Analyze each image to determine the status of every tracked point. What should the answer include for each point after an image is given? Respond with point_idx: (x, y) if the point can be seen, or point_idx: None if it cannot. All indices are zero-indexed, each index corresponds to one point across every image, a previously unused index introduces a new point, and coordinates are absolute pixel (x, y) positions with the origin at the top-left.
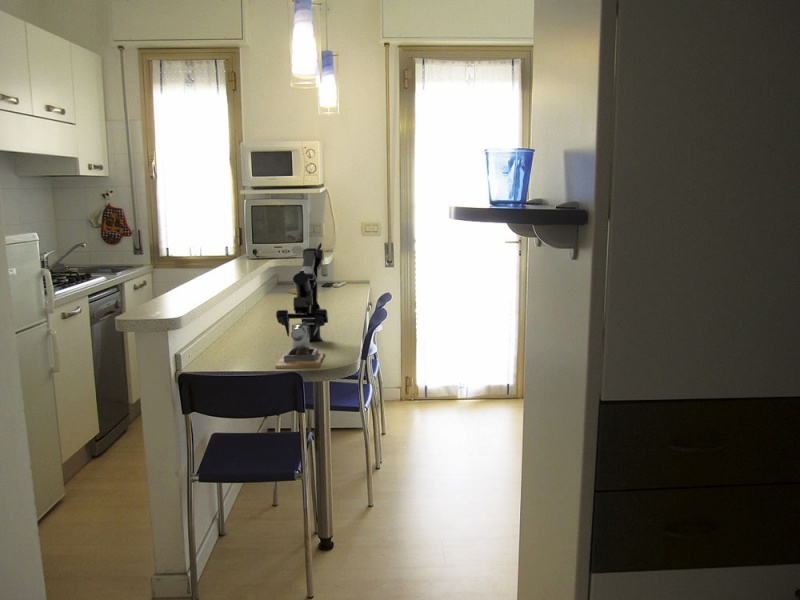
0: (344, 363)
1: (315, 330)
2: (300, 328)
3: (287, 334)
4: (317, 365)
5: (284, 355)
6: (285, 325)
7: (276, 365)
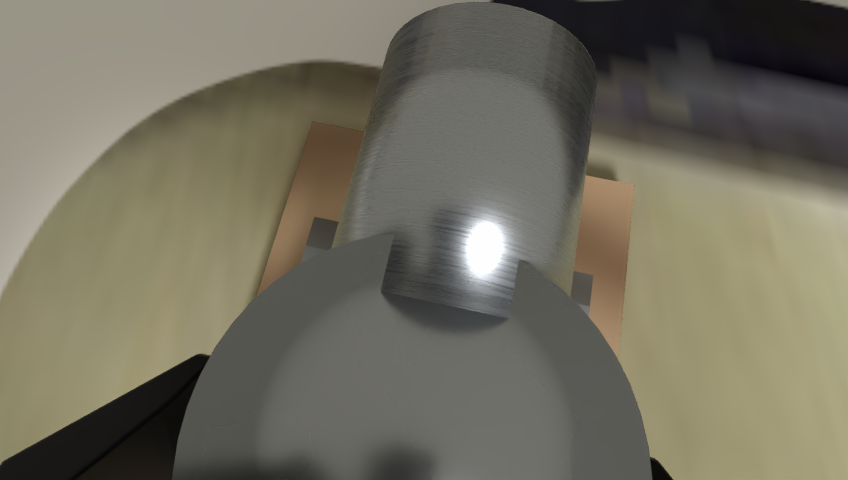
0: (108, 206)
1: (109, 420)
2: (428, 80)
3: (656, 462)
4: (319, 125)
5: (587, 293)
6: None
7: (626, 184)
